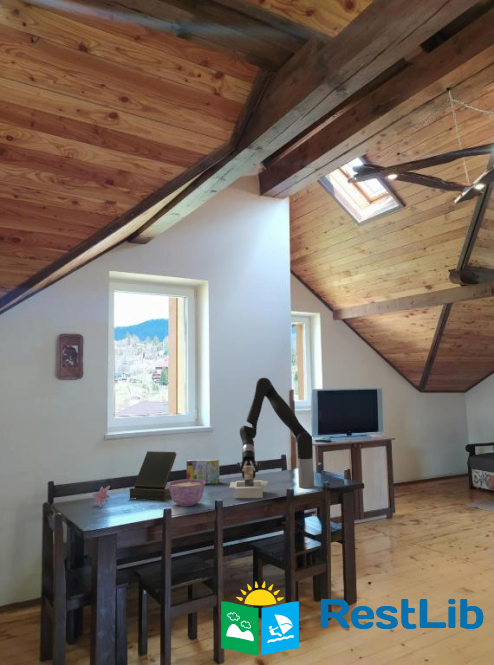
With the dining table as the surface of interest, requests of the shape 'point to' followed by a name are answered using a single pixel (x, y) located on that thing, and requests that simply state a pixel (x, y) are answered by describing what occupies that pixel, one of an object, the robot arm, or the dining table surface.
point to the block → (248, 476)
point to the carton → (248, 489)
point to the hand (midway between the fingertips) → (248, 477)
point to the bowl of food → (186, 491)
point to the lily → (101, 496)
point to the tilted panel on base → (154, 477)
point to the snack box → (204, 470)
